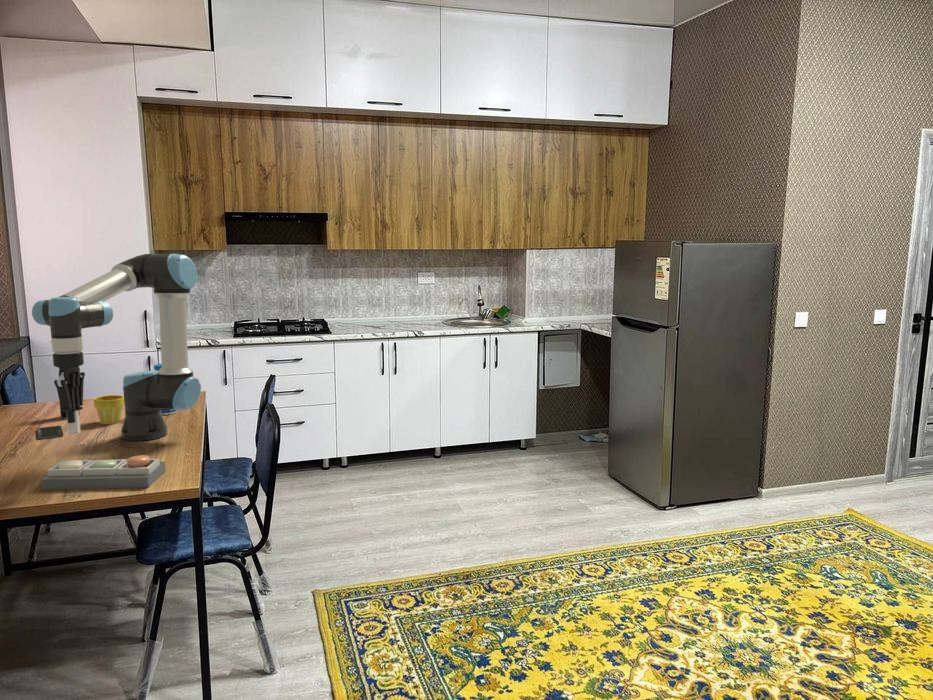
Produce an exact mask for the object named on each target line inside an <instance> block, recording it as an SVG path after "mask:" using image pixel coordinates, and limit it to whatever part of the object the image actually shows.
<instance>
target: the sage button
mask: <svg viewBox="0 0 933 700" xmlns="http://www.w3.org/2000/svg"><path fill="white" fill-rule="evenodd" d="M100 460H101V461H97V462H95V463H94V464H93V468H113V467H115V466H116V465H117V464H116V460H117V459H100Z"/></svg>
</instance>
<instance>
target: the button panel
mask: <svg viewBox="0 0 933 700" xmlns="http://www.w3.org/2000/svg"><path fill="white" fill-rule="evenodd" d="M127 459H128V458H126V459H123V458H122V459H115V460H116V464H117V465H116V466H115V467H113V468H93V464H94V463H95V462H97V461H101V460H102V459H95V460H94V459H82V460H81V459H79V460H80V461H82V462H83V466H81V467H80V468H78V469H59V464H60V463H62V462H66V461H72V460H73V459H72V460H71V459H70V460H62V461H59V462H58V463H56V464H55V465H53V466H52V467H50V468H48V469H47V470H46V471H47V475H46V476H44V477H42V478H41V479H40V483H41V485H40V486H41V491H42V490H43V491H44V490H79V489H80V490H82V489H84V490H86V489H87V490H88V489H90V490H91V489H94V490H95V489H132V488H133V489H134V488H135V489H137V488H139V489H140V488H141V489H142V488H143V489H144V488H150V487H151V486H152V485H153V484H154V483H155V482H156V481H157V480H158V479H159V478H160V477H162V476H163V474H165V472H166V471H167V470H166V461H161V460H160V459H161V458H150V464H149V465H147V466H144V467H137V468H131V467H128V466H127Z"/></svg>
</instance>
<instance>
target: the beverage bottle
mask: <svg viewBox="0 0 933 700" xmlns="http://www.w3.org/2000/svg"><path fill="white" fill-rule="evenodd" d="M161 367H162V362H161V363H155V364H154V365H153V370H157V371H159V370H160V369H161ZM177 412H178V410H175V409H161V414H162V416H166V415H168V414H169V415H174V414H175V413H177Z"/></svg>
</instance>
